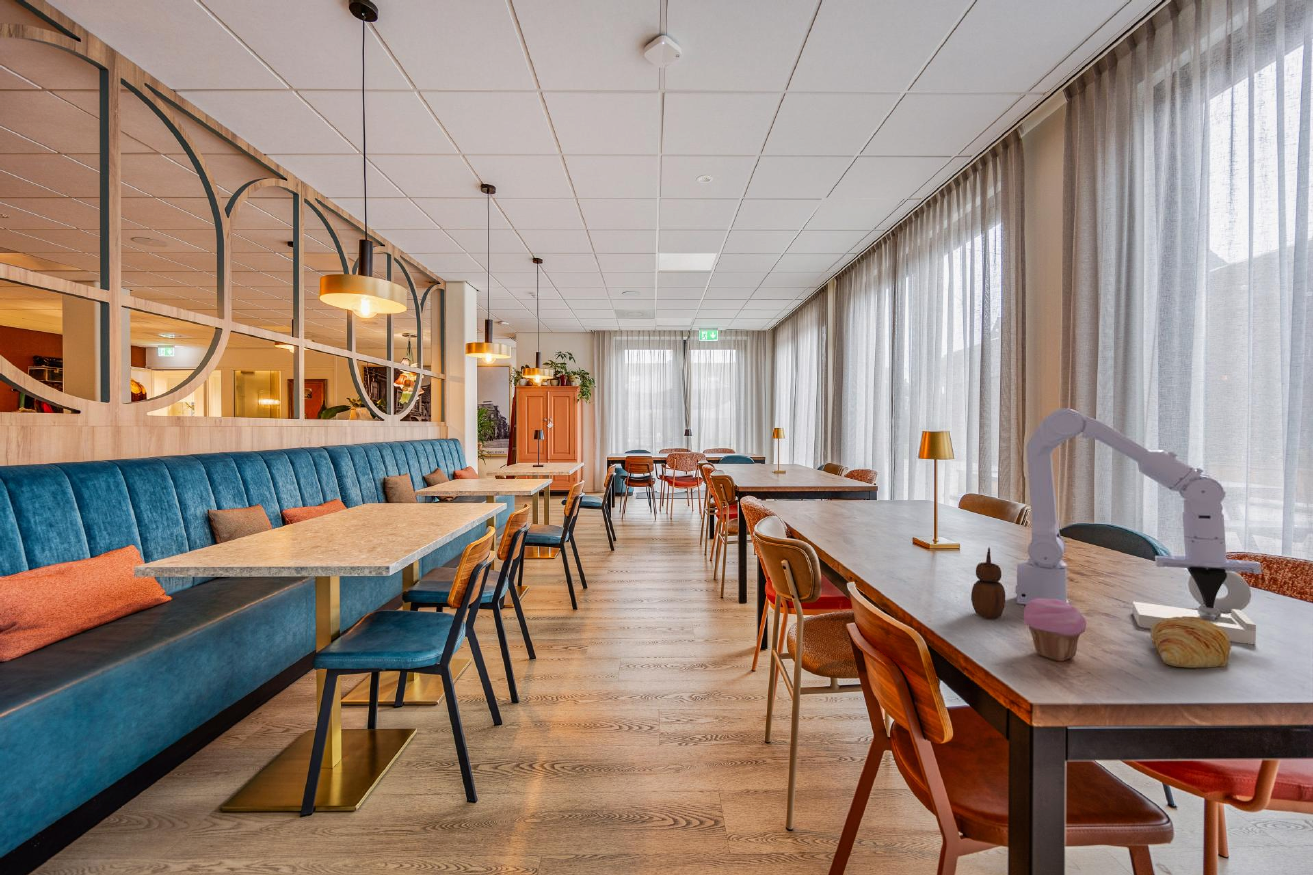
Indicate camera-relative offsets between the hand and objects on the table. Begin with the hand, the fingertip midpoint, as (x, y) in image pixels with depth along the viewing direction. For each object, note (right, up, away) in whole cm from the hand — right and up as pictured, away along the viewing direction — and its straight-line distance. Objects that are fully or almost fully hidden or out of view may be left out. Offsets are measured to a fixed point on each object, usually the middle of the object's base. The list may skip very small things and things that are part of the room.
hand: (1208, 606), depth 106 cm
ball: (0, -1, 0) cm, 1 cm away
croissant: (-15, -5, -11) cm, 19 cm away
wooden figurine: (-38, -5, +9) cm, 39 cm away
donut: (+13, -5, +11) cm, 17 cm away
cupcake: (-39, -5, -11) cm, 41 cm away
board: (-2, -5, +2) cm, 5 cm away
